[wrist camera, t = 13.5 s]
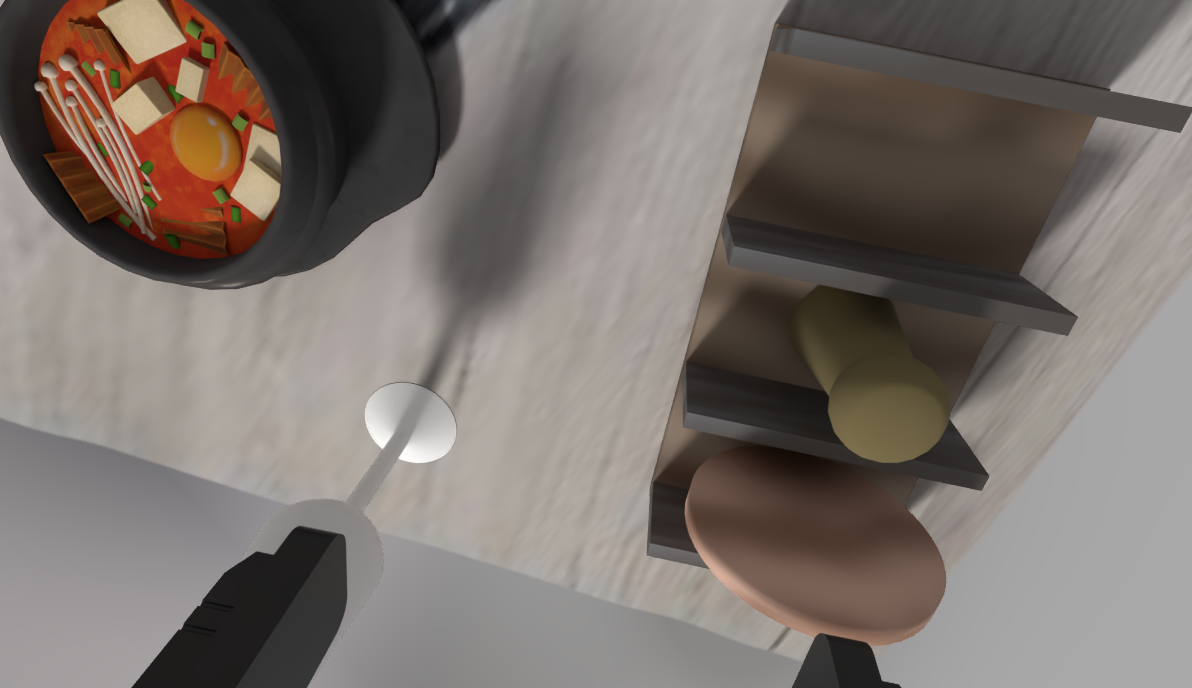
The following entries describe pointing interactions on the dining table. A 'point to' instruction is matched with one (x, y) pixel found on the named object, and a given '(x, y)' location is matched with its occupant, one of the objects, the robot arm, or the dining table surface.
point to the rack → (870, 266)
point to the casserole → (217, 128)
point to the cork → (869, 375)
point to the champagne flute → (369, 489)
